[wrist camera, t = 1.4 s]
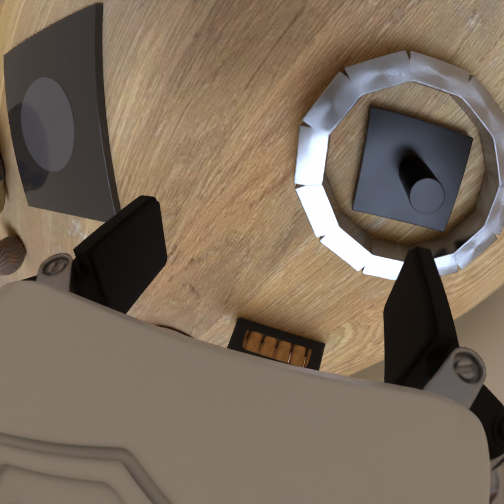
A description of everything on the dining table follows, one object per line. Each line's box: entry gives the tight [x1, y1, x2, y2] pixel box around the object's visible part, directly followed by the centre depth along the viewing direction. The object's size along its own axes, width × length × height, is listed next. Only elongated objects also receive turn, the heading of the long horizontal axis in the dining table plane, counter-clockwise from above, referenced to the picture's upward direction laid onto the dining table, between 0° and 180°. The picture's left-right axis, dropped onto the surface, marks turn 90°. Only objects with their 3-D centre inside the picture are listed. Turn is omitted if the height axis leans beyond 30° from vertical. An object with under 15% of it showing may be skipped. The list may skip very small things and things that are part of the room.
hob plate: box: [4, 3, 121, 222], centre depth 25 cm, size 24×20×1 cm
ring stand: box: [352, 105, 473, 232], centre depth 17 cm, size 8×8×5 cm
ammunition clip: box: [227, 318, 325, 371], centre depth 29 cm, size 11×2×12 cm, turn 81°
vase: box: [0, 236, 25, 275], centre depth 40 cm, size 7×7×9 cm
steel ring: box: [293, 50, 504, 281], centre depth 17 cm, size 17×17×3 cm
